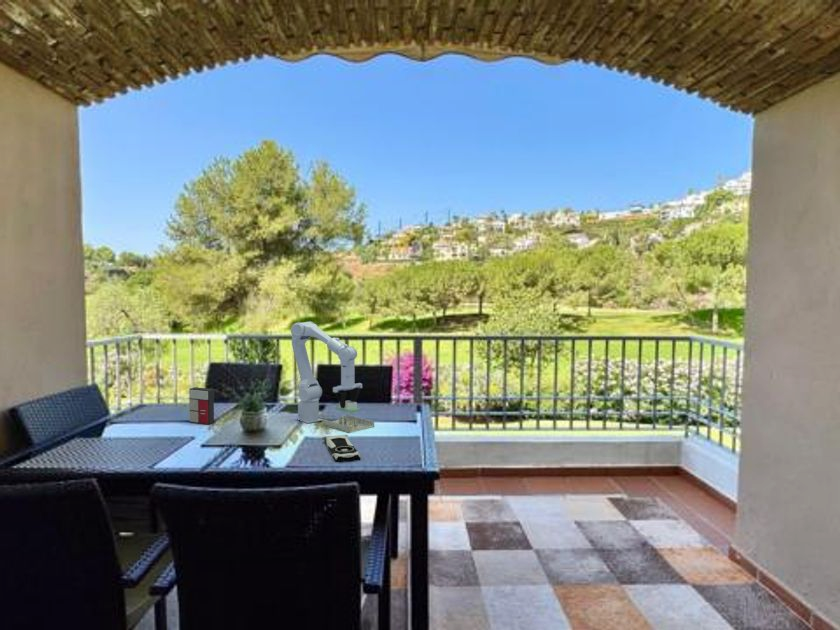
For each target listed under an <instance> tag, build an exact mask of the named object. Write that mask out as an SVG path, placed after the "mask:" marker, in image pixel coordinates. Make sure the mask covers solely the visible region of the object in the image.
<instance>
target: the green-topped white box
mask: <svg viewBox="0 0 840 630" xmlns="http://www.w3.org/2000/svg"><path fill="white" fill-rule="evenodd" d="M335 410H338V411H341V412H344V413H347V414H348V413H349V414H353V413H360V411H361V408H360V407H359V408H358V402H357V401H356V402H353V401H350V400H345V408H341V407H340V403H339V402H338V406H335Z"/></svg>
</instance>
